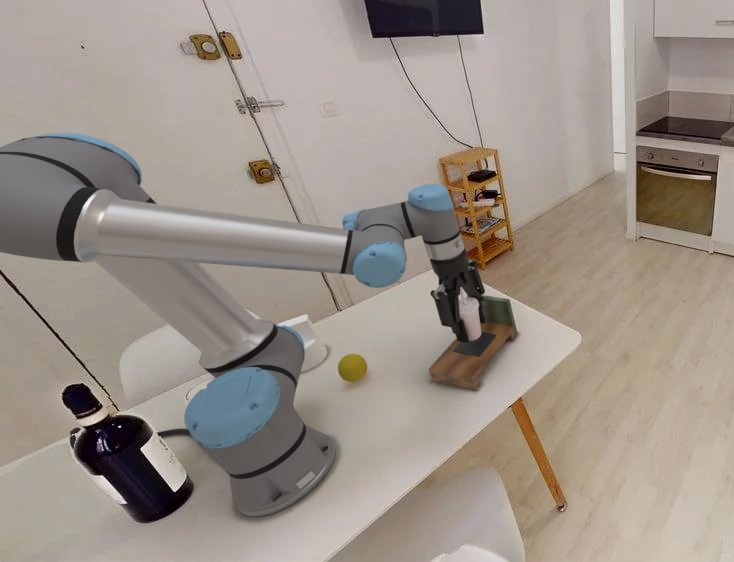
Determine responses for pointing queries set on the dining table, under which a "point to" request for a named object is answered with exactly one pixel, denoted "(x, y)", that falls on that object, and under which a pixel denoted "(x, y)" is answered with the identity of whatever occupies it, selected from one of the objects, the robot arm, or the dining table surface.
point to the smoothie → (470, 316)
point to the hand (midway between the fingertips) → (472, 331)
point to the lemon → (352, 367)
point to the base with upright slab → (308, 341)
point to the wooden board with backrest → (476, 346)
